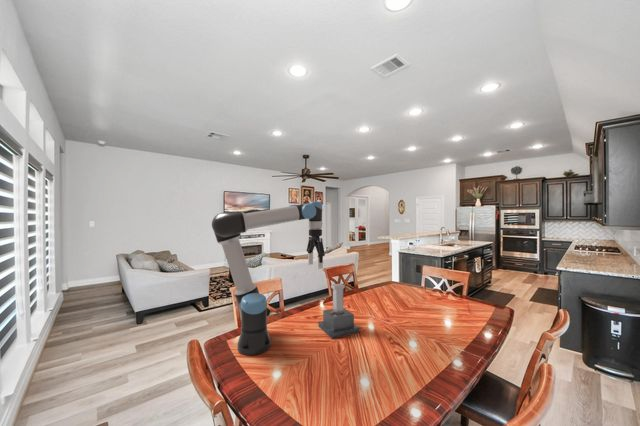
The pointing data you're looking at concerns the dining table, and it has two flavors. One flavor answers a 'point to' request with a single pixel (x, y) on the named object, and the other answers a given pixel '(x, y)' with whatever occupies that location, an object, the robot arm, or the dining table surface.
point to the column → (338, 298)
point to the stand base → (338, 323)
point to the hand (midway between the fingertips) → (315, 266)
